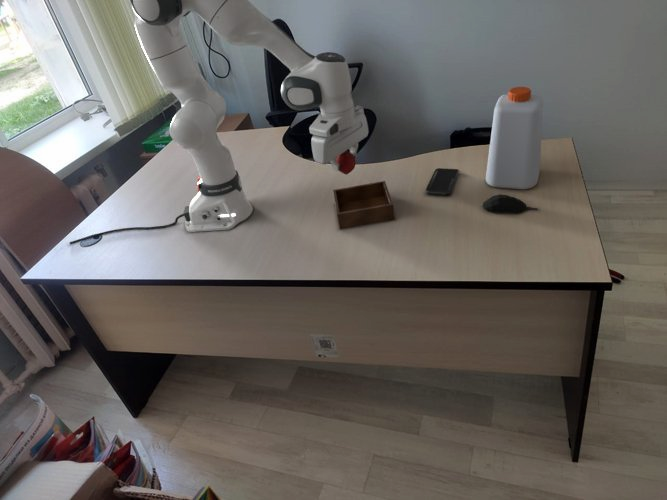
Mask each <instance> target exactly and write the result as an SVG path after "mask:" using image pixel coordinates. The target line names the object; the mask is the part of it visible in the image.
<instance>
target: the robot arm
mask: <svg viewBox="0 0 667 500" xmlns="http://www.w3.org/2000/svg"><path fill="white" fill-rule="evenodd" d="M129 2H130V6H131V8H132V10H133V12H134V14H135V15H136V16H135V18H134V23H133V24H134V27H135V31H136V34H137V37H138V40H139V43H140V45H141V48H142V50H143V52H144V54H145V56H146V58H147V60H148V62H149V65H150V66H151V68H152V70H153V72H154V74H155V75H156V76H155V77H156V78H157V79H158V82H159V83H160V85H161V87H162V88H163V89H164V90H166V91H168V92H170V93H171V94H173V95H174V97H175V98H176V99H177V100H178V102H179V104H180V105H181V108H179V110H178V111H177V112H176V113H175V114H174V116H173V117H172V120H171V123H170V125H169V135H170V138H171V140H172V141H173V142H174V143H175V145H177V147H179V148H181V149H184V150H186V152H188V154H189V155H190V157H191V158H192V160H193V162H194V164H195V166H196V169H197V172H198V174H199V175H198V176H197V183H196V189H197V193H196V194H195V195H194V197H193V198H192V199H191V201H190V203H189V205H187V206H184V209H183V213H181V214H179V215H177V217H176V218H175V220H174V221H173V222H172V223H170V224H165V225H156V226H134V227H123V228H116V229H111V230H107V231H106V230H105V231H102V232H99V233H95V234H92V235H89V236H85V237H82V238H79V239H75V240H72V241H69V245H72V244H76V243H79V242H82V241H85V240H89V239H93V238H96V237H100V236H103V235H106V234H107V235H108V234H111V233H117V232H123V231H135V230H156V229H157V230H158V229H165V228H170V227H173V226H175V225H177V223H178V222H179V219H181V218H183V217H184V219H185V223H184V225H185V229H186V231H187V232H188V233H197V232H211V231H227V230H229V231H230V230H232V229H233V228H234V227H235V226H236V225H238V224H239V223H242V222H244V221H245V220H246V219H248V218H249V216H251V215H252V214H253V210H254V208H253V206H252V204H251V203H250V201H249V199H248V198H247V195H246V194H245V192H244V189H243V183H242V180H241V177H240V174H239V172H238V170H236V166H235V163H234V159H233V157H232V154H231V153H232V152H231V150H230V149H229V148H228V147H227V146H225V145H223V144H222V142H221V140H220V139H219V137H218V128H219V126H221V124H222V123H223V121H224V120H225V116H226V112H227V102H226V100H225V98H224V96H223V95H222V94H221V93H219V92H218V91H216V90H214V89H213V88H212V87H211V86H210V84H209V83H208V82H207V81H206V79H205V77H204V76H203V74H202V73H201V71H200V70H199V68H198V66H197V64H196V62H195V60H194V56H192V53H191V51H190V49H189V47H188V44H187V42H186V40H185V38H184V35H183V34H182V32H181V28H180V20H181V18H182V17H187V16H188V15H189V14H190V13H194V14H196V15H197V16H198V17H200V18H201V19H202V20H203V21H204V22H205V24H206V25H207V26H208V27H209V28H210V29H211V30H212V31H213V32H214V33H215V34H216V35H217V36H219V37H220V38H221V39H222V40H223V41H225V42H227V43H228V44H229V45H231V46H239V47H240V46H241V47H242V46H255V47H260V48H263V49H265V50H267V51H268V52H270V54H272V55H273V56H274V57H276V59H278V60H279V61H280V62H281V63H282V64H283V65H284V66H285V67H287V69H289V71H290V72H289V73H288V75H286V77H285V78H284V79H283V81H282V83H281V85H280V94H281V98H282V100H283V101H284V103H285V104H286V106H288V107H289V108H290V109H292V110H295V111H306V110H311V109H312V110H313V109H315V108H319V109H320V113H319V114H318V115H317V117H316V118H315V120H314V121H313V122H312V124H310V125H309V127H308V130H309V131H308V132H309V133H310V134H311V135H312V136H311V142H310V144H311V151H312V157H313V160H314V161H315V162H316V163H317V164H321V165H327V164H329V163H330V164H331V165H332V170H333V171H334V172H339V171H338V170H340V169H341V167H340V166H341V164H340V163H337V162H336V160H337V157H338V156H339V155H341V154H342V153H343V152H345V151H348V150H349V152H350V153H351V154H352V155H353V156H354V158H355V159H357V158H358V155H357V152H358V149H359V143H360V142H361V141H362V140H364V139H366V138H367V137H368V135H369V133H370V131H369V124H368V120H367V116H366V115H365V110H364V107H363V106H361V105H356V106H355V104H354V100H353V97H352V91H353V90H352V89H353V86H352V79H351V72H350V68H349V64H348V62H347V59H346V58H345V57H344V56H343V55H342V54H340V53H339V52H338V53H337V52H333V51H327V52H321V53H318V54H316V56H315V55H313V54H311V53H309V52H308V51H307V50H306V49H304V48H303V47H302V46H300V45H299V44H298V43H297V42H296V40H294V39H293V38H292V37H290V35H288V33H286V32H285V31H284V30H283V29H282V28H281V27H280V26H278V25H277V24H276V23H275V22H274V21H272V20H271V19H270V18H268V17H267V16H266V15H265V14H264V13H263V12H261V11H260V10H259V9H258V8H257V7H256V6H254V4H252V3H251V1H250V0H129Z"/></svg>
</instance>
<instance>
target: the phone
mask: <svg viewBox="0 0 667 500" xmlns="http://www.w3.org/2000/svg"><path fill="white" fill-rule="evenodd" d="M459 175H460V170H459V169H458V168H445V167H443V168H441V167H438V168H437V167H436V169H435V170H434V172H433V173H432V176H431V177H430V180H429V182H428V184H427V186H426V189H425V194H426V195H431V196H442V197H443V196H444V197H448V196H451V195H452V192H453V190H454V187H455V184H456V182H457V180H458V178H459Z"/></svg>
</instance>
